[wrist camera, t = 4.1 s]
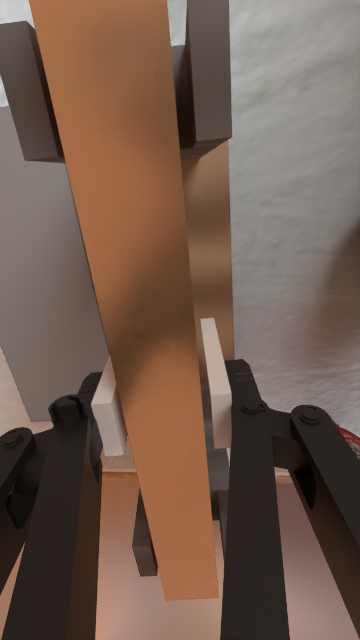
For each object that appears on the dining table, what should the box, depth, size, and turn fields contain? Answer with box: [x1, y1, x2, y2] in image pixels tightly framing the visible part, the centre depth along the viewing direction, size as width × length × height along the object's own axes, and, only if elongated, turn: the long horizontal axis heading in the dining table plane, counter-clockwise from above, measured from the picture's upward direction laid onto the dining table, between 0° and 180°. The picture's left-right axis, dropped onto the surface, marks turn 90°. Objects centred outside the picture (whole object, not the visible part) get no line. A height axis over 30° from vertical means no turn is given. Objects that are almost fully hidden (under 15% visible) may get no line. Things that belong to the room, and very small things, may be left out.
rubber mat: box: [0, 106, 110, 422], centre depth 28 cm, size 28×10×1 cm, turn 6°
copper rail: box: [29, 0, 219, 601], centre depth 14 cm, size 26×3×4 cm, turn 6°
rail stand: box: [0, 0, 234, 576], centre depth 20 cm, size 28×10×16 cm, turn 6°
